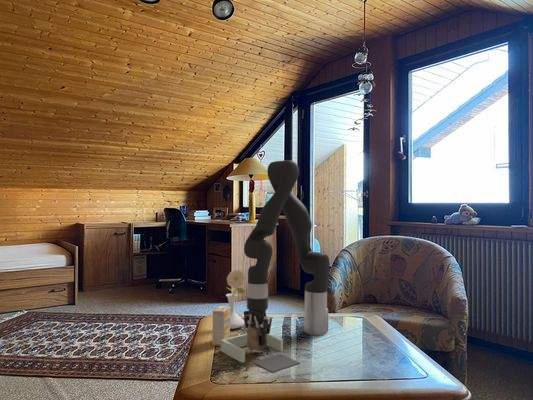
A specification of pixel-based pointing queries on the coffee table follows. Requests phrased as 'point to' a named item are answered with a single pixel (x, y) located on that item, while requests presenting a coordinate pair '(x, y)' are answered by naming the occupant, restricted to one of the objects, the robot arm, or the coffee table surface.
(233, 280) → the flower in vase
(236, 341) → the open-side box
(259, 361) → the charcoal mat
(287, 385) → the coffee table surface
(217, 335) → the supplement box
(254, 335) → the walnut block
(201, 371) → the coffee table surface
